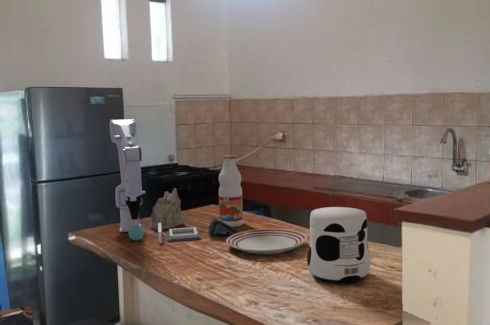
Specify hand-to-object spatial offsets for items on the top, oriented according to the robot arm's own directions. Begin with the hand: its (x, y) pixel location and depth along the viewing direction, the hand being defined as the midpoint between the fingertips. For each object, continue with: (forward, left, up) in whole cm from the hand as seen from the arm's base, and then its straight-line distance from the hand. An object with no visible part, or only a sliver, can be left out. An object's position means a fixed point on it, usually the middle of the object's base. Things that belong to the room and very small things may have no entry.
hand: (135, 217), depth 178 cm
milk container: (+53, +57, -9) cm, 78 cm away
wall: (-1, +8, -9) cm, 12 cm away
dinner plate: (+20, +44, -9) cm, 49 cm away
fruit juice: (-13, +37, -9) cm, 40 cm away
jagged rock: (-23, +10, -9) cm, 27 cm away
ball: (0, 0, -6) cm, 6 cm away
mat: (-1, +17, -9) cm, 19 cm away
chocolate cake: (+2, +32, -9) cm, 34 cm away
